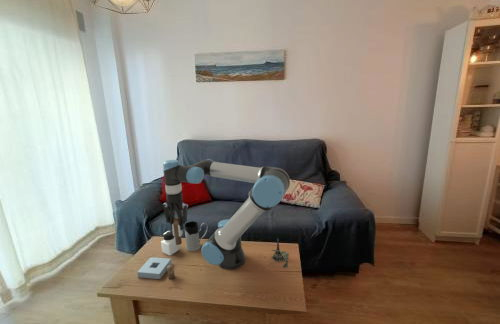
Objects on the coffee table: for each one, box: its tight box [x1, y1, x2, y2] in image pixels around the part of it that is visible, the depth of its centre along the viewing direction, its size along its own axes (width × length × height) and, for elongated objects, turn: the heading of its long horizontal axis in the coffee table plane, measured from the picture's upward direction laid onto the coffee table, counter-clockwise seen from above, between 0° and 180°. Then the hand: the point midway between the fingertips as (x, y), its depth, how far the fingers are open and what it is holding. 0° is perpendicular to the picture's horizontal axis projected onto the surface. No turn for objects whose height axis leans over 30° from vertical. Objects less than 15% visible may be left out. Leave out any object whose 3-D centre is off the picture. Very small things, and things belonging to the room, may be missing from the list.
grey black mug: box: [184, 220, 209, 252], centre depth 143 cm, size 9×14×15 cm, turn 118°
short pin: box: [166, 264, 175, 280], centre depth 118 cm, size 3×3×6 cm
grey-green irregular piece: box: [271, 238, 289, 269], centre depth 128 cm, size 15×10×13 cm
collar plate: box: [136, 257, 173, 280], centre depth 124 cm, size 12×12×3 cm
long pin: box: [173, 216, 183, 246], centre depth 121 cm, size 3×3×14 cm
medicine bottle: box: [160, 230, 180, 256], centre depth 139 cm, size 7×7×12 cm
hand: (177, 234), depth 121 cm, fingers closed on long pin, 2 cm apart
